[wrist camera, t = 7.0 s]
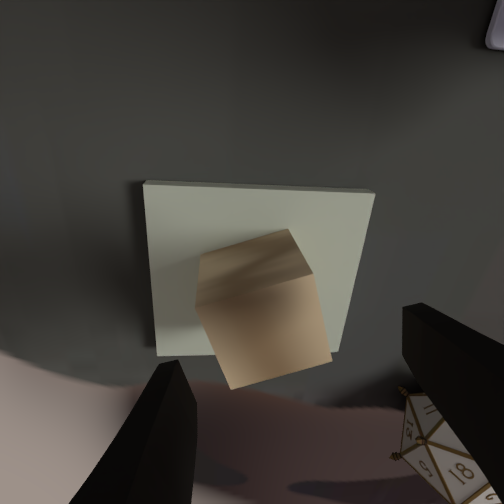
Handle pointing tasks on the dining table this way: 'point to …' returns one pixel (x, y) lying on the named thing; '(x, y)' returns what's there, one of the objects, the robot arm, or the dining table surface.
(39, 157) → the dining table surface
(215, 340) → the maple block
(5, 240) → the dining table surface
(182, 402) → the robot arm
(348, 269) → the sage tile
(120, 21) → the dining table surface
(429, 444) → the game die
